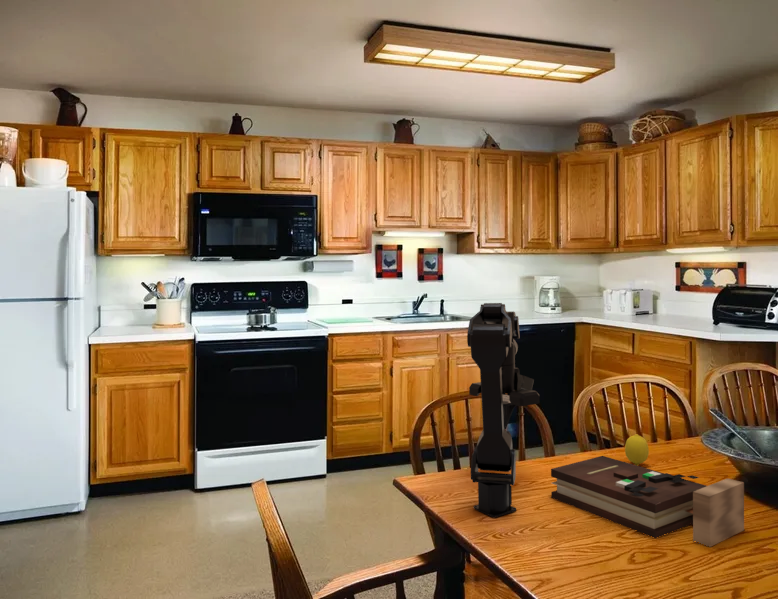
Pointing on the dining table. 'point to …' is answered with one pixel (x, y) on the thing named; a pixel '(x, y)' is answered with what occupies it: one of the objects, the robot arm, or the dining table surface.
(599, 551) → the dining table surface
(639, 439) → the lemon
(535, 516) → the dining table surface
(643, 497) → the decorative book
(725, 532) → the bookend
